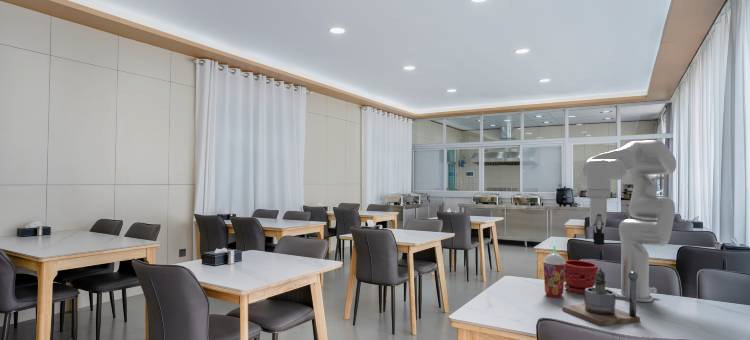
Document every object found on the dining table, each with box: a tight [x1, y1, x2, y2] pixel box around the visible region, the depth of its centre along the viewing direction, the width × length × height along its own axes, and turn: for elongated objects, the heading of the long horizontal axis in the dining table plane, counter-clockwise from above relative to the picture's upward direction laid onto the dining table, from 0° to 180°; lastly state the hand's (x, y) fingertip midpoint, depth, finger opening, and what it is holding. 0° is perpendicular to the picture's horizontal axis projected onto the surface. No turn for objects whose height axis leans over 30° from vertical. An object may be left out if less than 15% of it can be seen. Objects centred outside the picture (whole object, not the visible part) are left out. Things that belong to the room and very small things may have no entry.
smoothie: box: [542, 245, 566, 299], centre depth 175 cm, size 8×8×20 cm
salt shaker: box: [591, 267, 610, 294], centre depth 151 cm, size 6×6×12 cm
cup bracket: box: [561, 271, 641, 327], centre depth 150 cm, size 17×17×16 cm
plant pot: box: [564, 259, 599, 295], centre depth 183 cm, size 13×13×12 cm
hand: (598, 242), depth 154 cm, fingers open, 9 cm apart
